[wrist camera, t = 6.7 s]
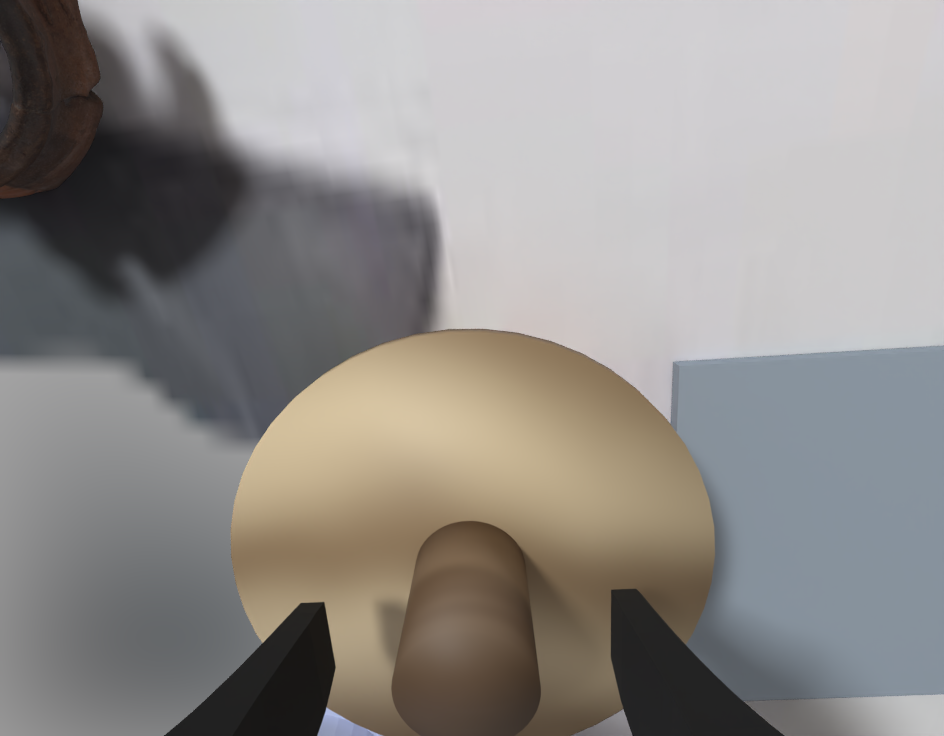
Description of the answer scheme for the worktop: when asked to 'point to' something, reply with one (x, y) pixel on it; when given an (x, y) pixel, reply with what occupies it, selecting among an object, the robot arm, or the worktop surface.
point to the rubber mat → (821, 520)
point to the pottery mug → (46, 95)
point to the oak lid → (471, 531)
